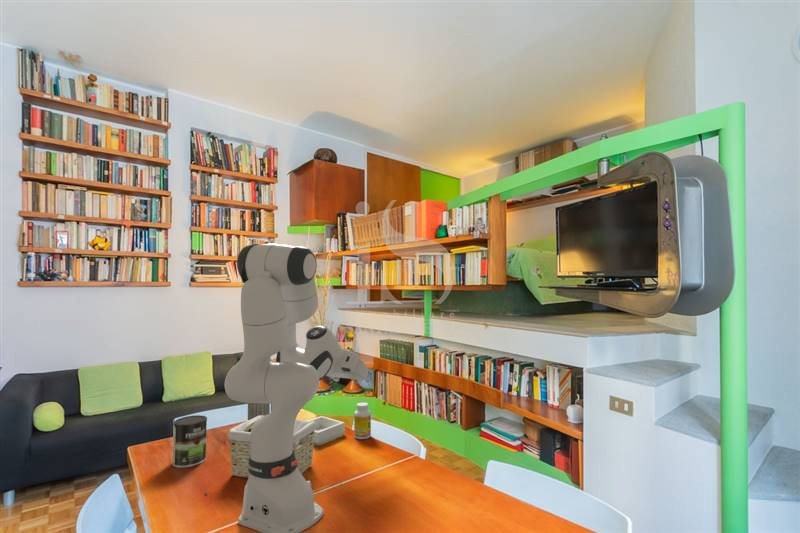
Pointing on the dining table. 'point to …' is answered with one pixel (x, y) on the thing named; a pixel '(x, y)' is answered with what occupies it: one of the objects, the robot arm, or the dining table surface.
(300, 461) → the storage basket
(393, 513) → the dining table surface
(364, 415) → the supplement bottle
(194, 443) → the coffee can
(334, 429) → the box
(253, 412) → the milk frother
